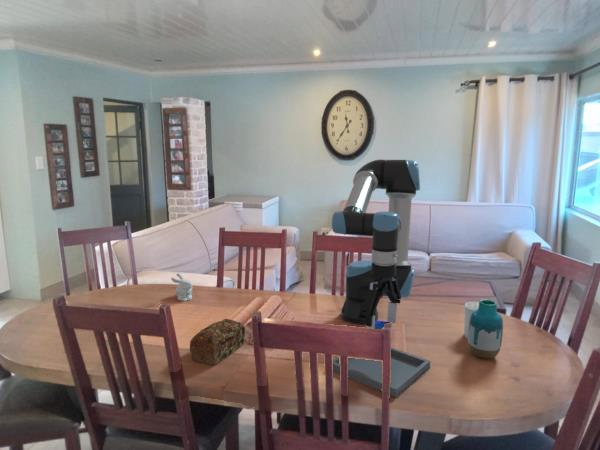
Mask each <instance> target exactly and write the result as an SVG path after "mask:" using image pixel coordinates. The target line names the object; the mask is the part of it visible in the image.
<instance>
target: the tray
mask: <svg viewBox="0 0 600 450" xmlns="http://www.w3.org/2000/svg"><path fill="white" fill-rule="evenodd" d="M332 360H333V371H332V372H334V373H337V374H339V375H341V374H340V364H339V357H338V356H337V357H335V358H333V359H332ZM430 369H431V360H430V359H426V358H423V357H420V356H417V355H414V354H412V353H408V352H406V351H403V350H400V349H397V348H394V347H391V383H390V395H389V396H392V397H393V398H397V397H399V396H400V395H401V394H402V393H404V391H406V390H407V389H408V388H409V387H410V386H411V385H413V384H414V383H415V382H416V381H417V380H418V379H420V378H421V377H422V376H423V375H424V374H425V373H427V371H428V370H430ZM348 376H349V377H348V378H349V379H351V380H353V381H357V382H358V383H360V384H363V385H366V386H368V387H370V388H372V389H374V390H378V391H379V392H382V391H381V389H382V362H381V361H374V360H365V359H355V358H348Z"/></svg>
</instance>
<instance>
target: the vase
mask: <svg viewBox="0 0 600 450" xmlns="http://www.w3.org/2000/svg"><path fill="white" fill-rule="evenodd" d="M478 302H479V307H478V310H475V311H473V312H472V314H471V317H470V322H469V330H468V338H467V344H468V348H469V350H470V351H471V353H472V354H473V355H475V356H477V357H479V358H483V359H491V358H492V359H493V358H495V357H496V356H498V355H499V353H500V351H501V347H502V342H503V341H502V340H503V333H504V319H503V317H502V315H501V314H500V313H499V312H498V311H497V309H498V308H497V306H498V305H497V302H496V301H494V300H492V299H480V300H479V301H478Z"/></svg>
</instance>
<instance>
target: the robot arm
mask: <svg viewBox="0 0 600 450" xmlns="http://www.w3.org/2000/svg"><path fill="white" fill-rule="evenodd" d="M419 169H420V168H419V163H418V162H417V161H416V160H412V159H411V160H410V159H374V160H371V161H369V162H368V163H365V164H364V165H363V166H361V167H360V168H359V169H358V170H357V171H356V172H355V175H354V177H353V180H352V182H353V183H352V184H353V185H352V187H351V190H350V193H349V195H348V197H347V201H346V203H345V205H344V207H343V210H340V211H334V213H333V214H332V218H331V219H332V220H331V228H332V232H333V233H334V234H337V235H338V234H339V235H344V236H345V235H346V236H347V235H348V236H365V237H372V245H371V260H366V259H365V260H364V259H363V260H358V261H353V262H350V263H349V264H348V265H347V267H346V274H345V277H346V278H345V279H346V280H345V300H344V302H343V306H342V308H341V312H340V316H341V319H342V320H344V321H345V322H348V323H350V324H351V323H352V324H355V325H365V329H366V328H373V329H375V320H377V321H379V311H378V308H377V307H378V305H379V302H380V300H381V298H382V297H388V300H389V301H388V302H387V303H388V304H387V305H388V306H387V307H388V308H387V322H390V323H393V324H397V313H398V311H397V310H398V304H400V303H401V298H402V299H407V298H409V297H410V296H411V292H412V287H413V283H414V279H415V278H414V277H415V273H416V270H415V269H414V268H412V263H411V262H410V261H409V248H410V247H409V245H410V231H411V227H410V226H411V216H412V215H411V213H412V200H413V198H414V197H416V195H417V192H418V191H420V190H421V183H420V182H421V180H420V170H419ZM376 189H378V190H385V195H386V196H387V197H388V199H389V200H388V211H377V212H375V213H373V212H372V213H371V212H367V210H368V206H369V204H370V200H371V197H372V194H373V193H374V191H376Z"/></svg>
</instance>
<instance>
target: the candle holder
mask: <svg viewBox="0 0 600 450" xmlns="http://www.w3.org/2000/svg"><path fill="white" fill-rule="evenodd" d="M478 307H479V301H467V302H466V303H464V321H463V322H464V324H463V325H464V326H463V328H464V329H463V330H464V331H463V332H464V333H463V334H464V337H465V338H466V339H468V330H469V322H470V317H471V314H472V312H473V311H475V310H478Z"/></svg>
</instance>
